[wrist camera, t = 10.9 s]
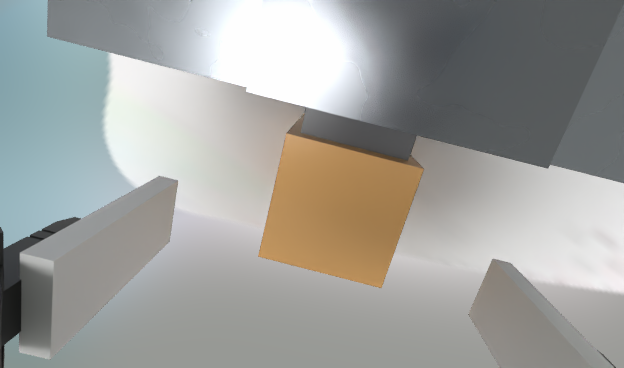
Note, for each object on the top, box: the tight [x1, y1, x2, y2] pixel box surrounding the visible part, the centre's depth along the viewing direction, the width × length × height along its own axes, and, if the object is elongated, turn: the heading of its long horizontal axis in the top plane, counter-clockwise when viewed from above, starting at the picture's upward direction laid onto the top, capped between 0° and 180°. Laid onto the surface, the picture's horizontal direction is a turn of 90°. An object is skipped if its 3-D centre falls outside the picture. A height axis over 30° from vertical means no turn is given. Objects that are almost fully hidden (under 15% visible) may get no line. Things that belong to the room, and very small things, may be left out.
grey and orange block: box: [258, 107, 424, 288], centre depth 18 cm, size 21×6×9 cm, turn 166°
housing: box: [47, 0, 624, 183], centre depth 15 cm, size 18×4×16 cm, turn 76°
